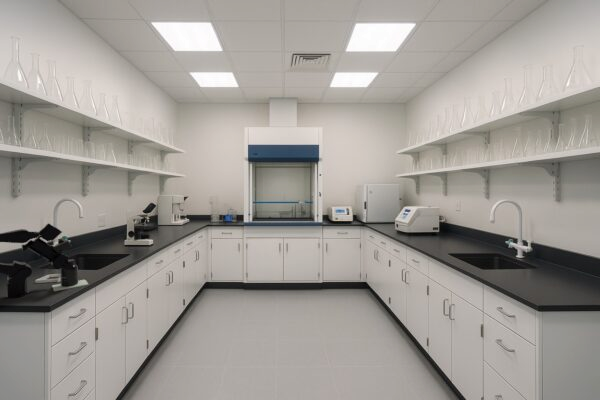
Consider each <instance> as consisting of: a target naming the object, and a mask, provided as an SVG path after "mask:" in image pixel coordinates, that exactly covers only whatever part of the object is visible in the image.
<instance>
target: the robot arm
mask: <svg viewBox="0 0 600 400" xmlns="http://www.w3.org/2000/svg"><path fill="white" fill-rule="evenodd" d="M62 233H63V231H62V230H60V229H59V228H57V227H55V226H54V225H52V224H50V223H49V222H48V223H47V224H46V225H45V226H44V227H43V228H42V229H40V230H39V231H36V230H35V231H29V230H28V229H25V228H24V229H23V228H20V229H15V230H11V231H6V232H5V231H4V232H0V243H9V244H12V243H13V244H21V251H22V252H25V251H27V250H30V251H32V252H33V253H34V254H37V255H38V256H39V257H41V258H44V259H45V260H47V261H48V262H49V263H50V264H51V266H52V267H54V268H55V269H60V268H63V269H69V270H75V269H76V268H75V267H74V266H73V265H72V264H71V263H70V262H68V260H69V256H68V255H67V254H65V253H64V252H63V251H65V250H67V249H71V247H73V246H72V243H70V240H65V239H64V240H63V239H60V240H58V241H57V244H55V245H53V244H49V243H48V242H50V241H51V242H53V241H54V240H55V239H56V238H57V237H59V236H60V235H61V234H62ZM25 243H26V244H25ZM32 272H33V269H32V267H31V266H30V264H28V263H26V261H17V260H13V263H4V262H3V263H2V262H0V274H4V275H6V276H7V277H6V278H7V283H6V287H7V288H6V289H7V295H5V296H3V299H10V298H11V299H13V298H15V299H16V298H22V297H24V296H26V295H28V294H30V293H31V291H30V290H29V291H28V282H27V280H28V278H29V277H30V276H31V275H32V274H33V273H32Z"/></svg>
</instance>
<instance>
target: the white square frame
mask: <svg viewBox="0 0 600 400" xmlns="http://www.w3.org/2000/svg"><path fill="white" fill-rule="evenodd" d="M59 282H61V278H60V273H54V274H53V273H51V274H47V275H44V276H42V277H39V278H37V279H35V284H44V283H46V284H47V283H59Z"/></svg>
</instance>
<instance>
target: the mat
mask: <svg viewBox="0 0 600 400" xmlns="http://www.w3.org/2000/svg"><path fill="white" fill-rule="evenodd" d="M84 286H89V283H88V281H87V280H86V279H80V280H79V279H78V283H77V284H76V285H73V286H67V287H63V286H61V283H59V284H53V285H51V287H52V290H53V292H57V291H62V290H63V291H64V290H69V289H73V288H78V287H79V288H80V287H84Z"/></svg>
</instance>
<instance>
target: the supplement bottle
mask: <svg viewBox="0 0 600 400" xmlns="http://www.w3.org/2000/svg"><path fill="white" fill-rule="evenodd" d="M68 262H70V263H71V264H72V265H73V266H74V267H75V268H76V269H75V270H69V269H63V268H59V272H60V273H59V274H60V277H59V278H61V281H60V284H61V286H63V287H67V286H73V285H76V284H77V283H78V281H79V266H78V265H77V264H76V260H75V259H71V258H70V259H68Z"/></svg>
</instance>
